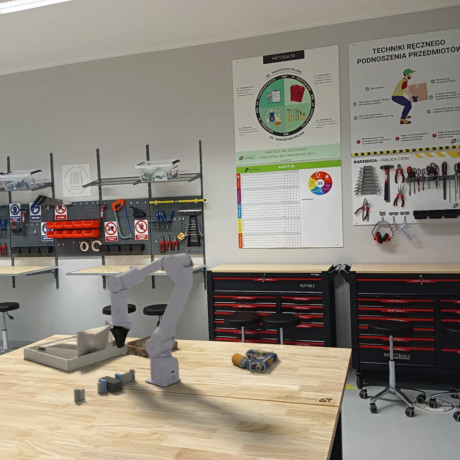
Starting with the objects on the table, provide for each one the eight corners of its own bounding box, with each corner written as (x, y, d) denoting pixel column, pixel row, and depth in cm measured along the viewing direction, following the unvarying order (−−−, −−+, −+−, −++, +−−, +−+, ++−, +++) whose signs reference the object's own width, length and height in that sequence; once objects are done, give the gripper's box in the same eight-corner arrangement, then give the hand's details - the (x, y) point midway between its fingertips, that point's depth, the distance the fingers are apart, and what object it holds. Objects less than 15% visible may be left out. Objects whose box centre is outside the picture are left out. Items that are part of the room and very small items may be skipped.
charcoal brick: (122, 390, 145) (122, 380, 145) (113, 393, 143) (113, 383, 142) (107, 385, 150) (107, 375, 150) (98, 388, 148) (98, 378, 147)
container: (35, 358, 179) (35, 328, 180) (81, 347, 201) (81, 320, 202) (77, 364, 169) (77, 332, 170) (120, 351, 192) (120, 323, 193)
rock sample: (146, 348, 179) (144, 330, 186) (134, 358, 182) (133, 340, 188) (166, 354, 185) (164, 337, 192) (155, 364, 188) (153, 347, 194)
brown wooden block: (177, 348, 192) (177, 341, 192) (149, 357, 179) (149, 350, 179) (150, 342, 203) (149, 335, 203) (121, 351, 190) (121, 344, 190)
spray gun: (224, 370, 162) (263, 375, 156) (224, 358, 162) (263, 363, 156) (245, 355, 181) (280, 359, 175) (245, 345, 181) (280, 349, 175)
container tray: (128, 352, 187) (127, 343, 187) (67, 371, 165) (67, 360, 165) (83, 342, 206) (83, 333, 206) (23, 357, 184) (23, 348, 184)
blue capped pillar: (136, 380, 154) (135, 369, 154) (78, 402, 136) (78, 390, 136) (131, 378, 155) (130, 368, 155) (73, 400, 137) (73, 388, 137)
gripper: (97, 309, 160) (98, 347, 160) (123, 313, 151) (125, 353, 151) (113, 305, 166) (114, 342, 166) (139, 309, 157) (141, 348, 157)
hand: (120, 347), depth 159 cm, fingers closed
